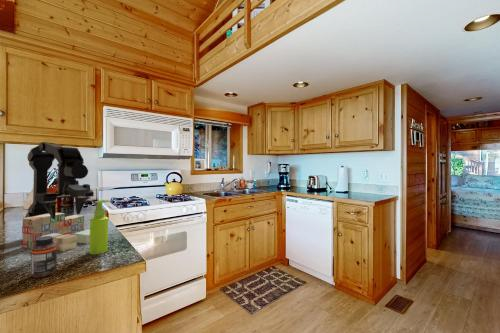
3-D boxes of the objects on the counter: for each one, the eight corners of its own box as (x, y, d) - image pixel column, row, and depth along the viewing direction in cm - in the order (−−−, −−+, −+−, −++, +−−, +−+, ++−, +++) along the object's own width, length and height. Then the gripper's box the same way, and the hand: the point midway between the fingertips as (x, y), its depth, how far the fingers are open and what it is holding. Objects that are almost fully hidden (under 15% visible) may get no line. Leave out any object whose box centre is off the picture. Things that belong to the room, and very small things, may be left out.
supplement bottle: (41, 269, 74) (42, 234, 74) (61, 269, 74) (62, 234, 74) (25, 278, 68) (25, 240, 68) (46, 278, 68) (47, 240, 68)
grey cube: (40, 248, 92) (40, 236, 92) (54, 244, 97) (54, 232, 97) (48, 250, 91) (48, 237, 91) (62, 246, 96) (62, 234, 96)
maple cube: (54, 250, 91) (54, 237, 91) (68, 246, 96) (68, 234, 96) (63, 251, 90) (63, 239, 90) (76, 247, 94) (76, 235, 94)
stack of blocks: (74, 233, 113) (75, 208, 114) (84, 234, 112) (84, 209, 112) (21, 248, 93) (22, 217, 93) (32, 249, 91) (33, 218, 91)
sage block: (73, 242, 101) (73, 233, 101) (90, 237, 109) (90, 228, 109) (87, 244, 99) (87, 235, 99) (103, 238, 106) (103, 230, 106)
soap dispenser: (113, 249, 93) (114, 199, 93) (96, 255, 86) (97, 202, 87) (102, 247, 95) (103, 199, 95) (85, 253, 88) (86, 201, 88)
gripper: (54, 179, 81) (53, 223, 81) (103, 177, 99) (102, 213, 99) (34, 178, 85) (33, 220, 85) (84, 176, 103) (84, 211, 103)
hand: (66, 216), depth 93 cm, fingers open, 9 cm apart
